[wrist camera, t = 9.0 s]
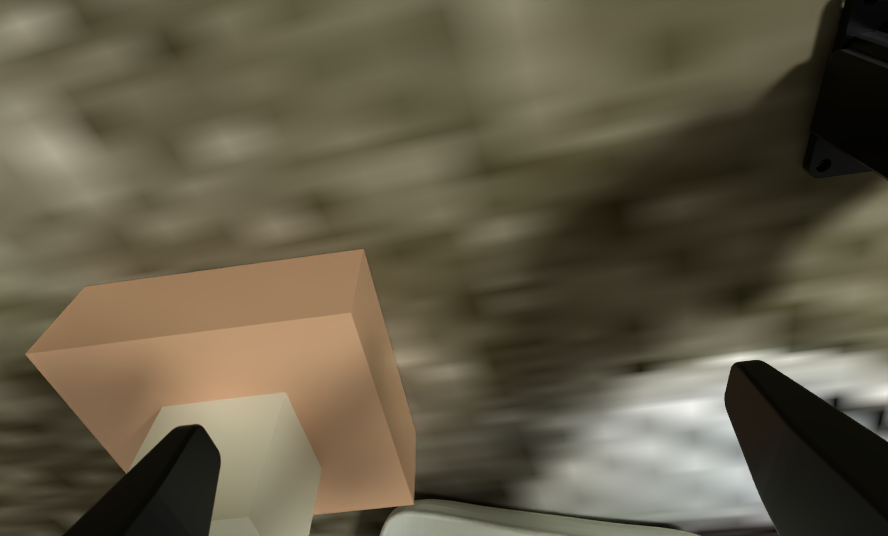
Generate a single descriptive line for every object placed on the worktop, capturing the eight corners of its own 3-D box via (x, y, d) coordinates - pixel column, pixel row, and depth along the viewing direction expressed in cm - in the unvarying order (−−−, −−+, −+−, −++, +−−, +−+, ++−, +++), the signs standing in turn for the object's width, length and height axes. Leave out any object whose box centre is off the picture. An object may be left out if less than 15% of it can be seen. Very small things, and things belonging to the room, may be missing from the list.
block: (285, 392, 20) (248, 517, 16) (321, 468, 23) (298, 591, 19) (162, 406, 21) (95, 532, 17) (213, 479, 24) (166, 602, 19)
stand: (363, 248, 21) (351, 312, 18) (416, 434, 28) (414, 504, 25) (85, 286, 22) (25, 354, 19) (202, 457, 29) (172, 528, 26)
